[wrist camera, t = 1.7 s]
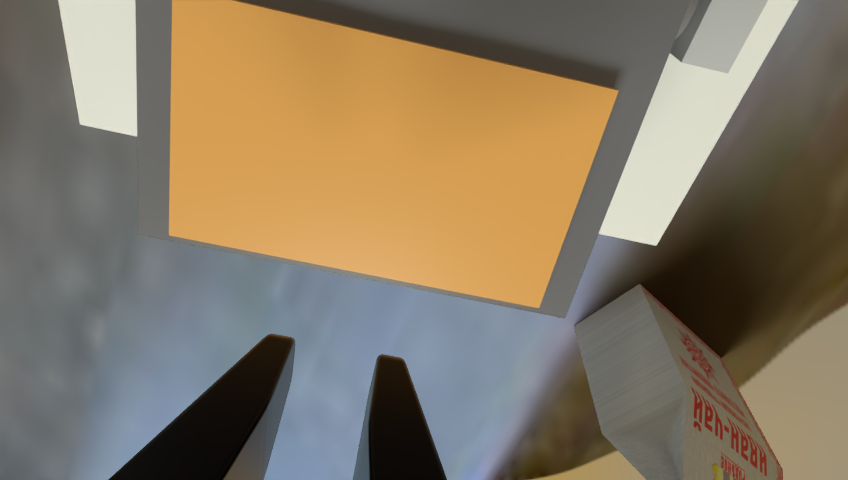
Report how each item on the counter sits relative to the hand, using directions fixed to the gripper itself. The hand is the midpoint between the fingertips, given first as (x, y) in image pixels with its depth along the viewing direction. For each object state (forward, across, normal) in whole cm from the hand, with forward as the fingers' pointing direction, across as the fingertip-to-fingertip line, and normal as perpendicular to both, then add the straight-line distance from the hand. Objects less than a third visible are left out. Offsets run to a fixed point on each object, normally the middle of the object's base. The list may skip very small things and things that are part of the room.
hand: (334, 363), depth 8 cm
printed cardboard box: (+13, -14, +10) cm, 22 cm away
